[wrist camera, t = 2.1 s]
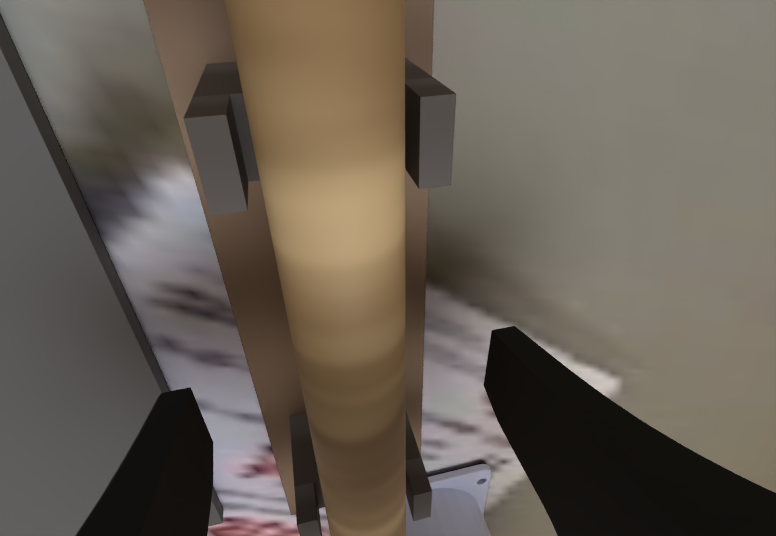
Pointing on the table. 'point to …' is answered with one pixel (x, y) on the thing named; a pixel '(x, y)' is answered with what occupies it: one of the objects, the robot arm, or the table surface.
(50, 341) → the mat
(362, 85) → the rail
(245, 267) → the hook stand
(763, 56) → the table surface
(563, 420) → the robot arm
